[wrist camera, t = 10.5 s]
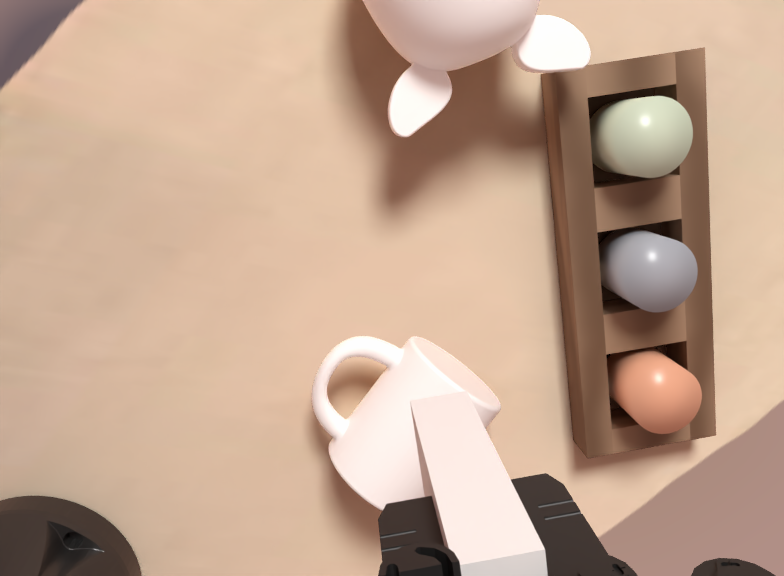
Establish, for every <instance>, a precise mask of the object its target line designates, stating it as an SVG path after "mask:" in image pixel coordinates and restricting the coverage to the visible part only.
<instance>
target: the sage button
mask: <svg viewBox="0 0 784 576" xmlns="http://www.w3.org/2000/svg"><path fill="white" fill-rule="evenodd" d="M589 123H590V137H591V151H592V162H593V163H594V164H595V165H596V166H597V167H599V168H600V169H602V170H604V171H607V172H611V173H617V174H624V175H631V176H638V177H645V178H656V177H660V176H663V175H666V174H668V173H670V172H672V171H673V170H674V169H676V168H677V167H678V166H679V165H680V164H681V163H682V162H683V160H684V159H685V158H686V156H687V154H688V152H689V150H690V147H691V144H692V139H693V127H692V122H691V119H690V116H689V114H688V113H687V111H686V110H685V108H684V107H683V106H682V105H681V104H680V103H678V102H677V101H675V100H673V99H671V98H669V97H664V96H651V97H642V98H634V99H625V100H617V101H612V102H610V103H607V104H605V105H604V106H602V107H601V108H599V109H598V110H597V111H596V112H595V113H594V115H593V116H592V117H591V119H590V121H589Z"/></svg>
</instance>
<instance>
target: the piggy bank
mask: <svg viewBox="0 0 784 576" xmlns="http://www.w3.org/2000/svg"><path fill="white" fill-rule="evenodd" d="M539 1H540V0H363V2H364V4H365V6H366V8H367V10H368V12H369V13H370V15H371V17H372V18H373V20H374V22H375V23H376V25H377V26H378V28H379V29H380V31H381V32H382V34H383V35H384V37H385V38H386V39H387V40H388V42H389V43H390V44H391V45H392V47H393V48H394V49H395V50H396V51H397V52H398V53H399V54H400V55H401V56H402V57H403V58H404V59H406V60H407V61H408V62H410V63H411V66H410V67H409V68H408V69H407V70H406V71H405V72H404V73H403V74H402V75H401V76H400V77H399V79H398V80H397V82H396V84H395V85H394V87H393V90H392V92H391V95H390V99H389V104H388V121H389V125H390V127H391V129H392V131H393V132H394V133H395V134H396V135H397V136H399V137H410V136H411V135H412V134H413V133H415V132H416V131H417V130H419V129H420V128H421V127H422V126H424V125H425V124H426V123H428V122H429V121H430V120H431V119H433V118H434V117H435V116H436V115H437V114H439V113H440V112H441V111H442V110H443V109H444V107H445V106H446V105H447V103H448V102H449V100H450V98H451V95H452V84H451V80H450V78H449V76H448V74H447V71H452V70H456V69H460V68H464V67H467V66H469V65H472V64H475V63H478V62H480V61H483V60H485V59H487V58H490V57H492V56H494V55H496V54H498V53H500V52H502V51H504V50H505V49H507V48H509V47H511V51H512V56H513V59H514V61H515V63H516V64H517V66H518V67H520V68H521V69H523V70H525V71H528V72H532V73H553V72H564V71H576V70H580V69H583V68H584V67H586V66H587V64H588V63H589V61H590V56H591V52H590V47H589V44H588V42H587V40H586V39H585V37H584V36H583V34H582V33H581V32H580V31H579V30H578V29H577V28H576V27H575V26H573V25H572V24H571V23H569V22H567V21H565V20H563V19H561V18H558V17H555V16H550V15H536V12H537V9H538V5H539Z"/></svg>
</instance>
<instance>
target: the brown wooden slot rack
mask: <svg viewBox="0 0 784 576" xmlns="http://www.w3.org/2000/svg"><path fill="white" fill-rule="evenodd" d="M541 80H542V91H543V102H544V114H545V125H546V136H547V148H548V159H549V170H550V181H551V193H552V204H553V215H554V226H555V238H556V249H557V260H558V272H559V283H560V294H561V305H562V317H563V328H564V339H565V350H566V362H567V373H568V384H569V396H570V407H571V418H572V429H573V440H574V441H575V443H576V444H577V445H578V447H579V448H580V449H581V450H582V452H583V453H584V454H585V456H586V457H587V458H593V457H598V456H604V455H609V454H615V453H620V452H626V451H632V450H637V449H643V448H648V447H654V446H660V445H665V444H671V443H676V442H682V441H687V440H693V439H699V438H704V437H710V436H715V435H716V419H715V384H714V350H713V315H712V280H711V246H710V211H709V176H708V142H707V107H706V72H705V48H698V49H692V50H685V51H679V52H672V53H666V54H659V55H653V56H646V57H640V58H633V59H626V60H620V61H613V62H607V63H600V64H594V65H587V66H586V67H584V68H583V69H580V70H576V71H564V72H553V73H545V74H541ZM653 87H655V96H664V97H669V98H671V99H673V100H675V101H677V102H678V103H680V104H681V105H682V106H683V107H684V108H685V110H686V111H687V113H688V114H689V116H690V119H691V122H692V127H693V139H692V144H691V147H690V150H689V152H688V154H687V156H686V158H685V159H684V160H683V162H682V163H681V164H680V165H679V166H678V167H677V168H676V169H674V170H673V171H672V172H670V173H668V174H666V175H663V176H660V177H656V178H645V177H638V176H634V177H628V178H622V179H616V180H610V181H603V182H597V183H594V179H593V165H592V151H591V137H590V123H589V110H588V98H589V97H595V96H602V95H608V94H615V93H621V92H627V91H634V90H640V89H647V88H653ZM658 222H661V231H662V236H664V237H667V238H671V239H674V240H677V241H679V242H681V243H683V244H684V245H686V246H687V247H688V248H689V249H690V250H691V252H692V253H693V255H694V257H695V259H696V262H697V268H698V275H697V280H696V284H695V286H694V289H693V290H692V292H691V294H690V295H689V296H688V298H687V299H686V300H685V301H684V302H683V303H681V304H680V305H679V306H677V307H675V308H673V309H671V310H668V311H665V312H649V311H645V310H643V309H641V308H639V307H637V306H635V305H634V304H632V303H630V302H629V301H627V300H625V299H623V298H622V299H616V300H610V301H604V302H602V289H601V275H600V262H599V248H598V234H597V232H603V231H609V230H615V229H621V228H628V227H634V226H640V225H646V224H652V223H658ZM664 344H667V357H668V358H670V359H671V360H673V361H674V362H675V363H677V364H678V365H680V366H681V367H683V368H684V369H686V370H687V371H689V372H690V373H691V374H693V375H694V376H695V378H696V379H697V380H698V382H699V384H700V387H701V391H702V400H701V405H700V408H699V410H698V412H697V414H696V416H695V417H694V418H693V420H692V421H691V422H690V423H689V424H688V425H686V426H685V427H683V428H682V429H680V430H678V431H675V432H672V433H668V434H657V433H652V432H650V431H647V430H646V429H644V428H643V427H642V426H640V425H639V424H638V423H637V422H636V421H635V420H634V419H633V418H632V417H631V416H630V415H629V414H628V413H627V412H626V411H625V410H624V409H623V408H620V409H614V410H610V400H609V386H608V372H607V358H606V354H612V353H618V352H624V351H630V350H635V349H641V348H647V347H653V346H659V345H664Z"/></svg>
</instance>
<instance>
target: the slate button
mask: <svg viewBox="0 0 784 576" xmlns="http://www.w3.org/2000/svg"><path fill="white" fill-rule="evenodd" d="M598 248H599V262H600V275H601V284H602V285H603V286H604V287H605V288H607V289H608V290H610V291H611V292H613V293H615V294H617V295H618V296H620V297H622V298H623V299H625V300H627V301H629V302H630V303H632V304H634V305H635V306H637V307H639V308H641V309H643V310H645V311H649V312H665V311H668V310H671V309H673V308H675V307H677V306H679V305H680V304H681V303H683V302H684V301H685V300H686V299H687V298H688V296H689V295H690V294H691V292H692V290H693V289H694V286H695V284H696V280H697V275H698V268H697V262H696V259H695V257H694V255H693V253H692V252H691V250H690V249H689V248H688V247H687V246H686V245H684V244H683V243H681V242H679V241H677V240H674V239H671V238H667V237H664V236H661V235H658V234H655V233H652V232H649V231H645V230H642V229H639V228H635V227H628V228H621V229H618V230H616V231H614V232H612V233H610V234H609V235H608V236H607V237H605V238H604V240H603V241H602V242H601V243H600V245H599V247H598Z"/></svg>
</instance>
